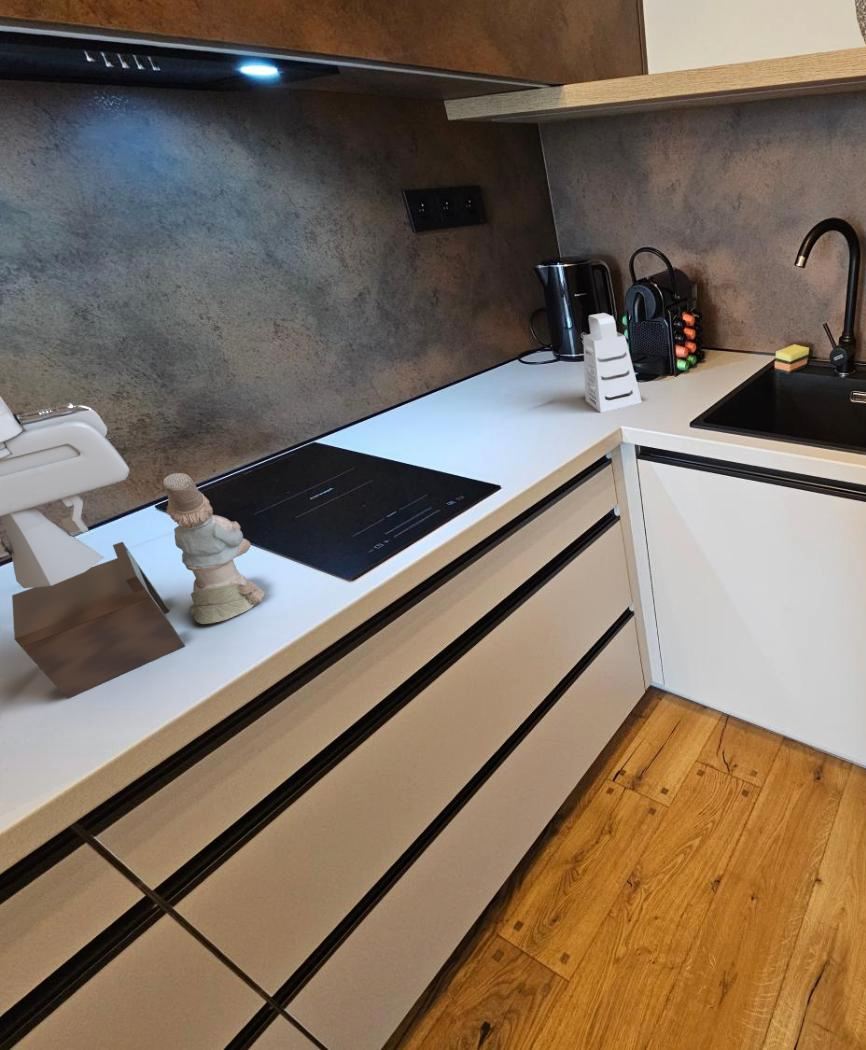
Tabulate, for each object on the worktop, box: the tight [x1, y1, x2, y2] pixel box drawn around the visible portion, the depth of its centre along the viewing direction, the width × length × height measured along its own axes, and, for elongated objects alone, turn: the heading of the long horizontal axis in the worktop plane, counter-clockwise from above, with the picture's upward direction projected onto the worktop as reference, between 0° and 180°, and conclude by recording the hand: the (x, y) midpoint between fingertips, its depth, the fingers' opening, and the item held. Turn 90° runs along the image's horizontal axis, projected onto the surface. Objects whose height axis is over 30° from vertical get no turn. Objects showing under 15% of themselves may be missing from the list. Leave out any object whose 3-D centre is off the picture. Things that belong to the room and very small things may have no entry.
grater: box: [582, 312, 643, 414], centre depth 136 cm, size 10×10×20 cm
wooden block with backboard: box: [11, 541, 186, 700], centre depth 70 cm, size 11×12×11 cm
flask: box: [0, 507, 105, 589], centre depth 64 cm, size 7×7×10 cm
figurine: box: [162, 472, 266, 625], centre depth 74 cm, size 9×8×20 cm
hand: (41, 545), depth 65 cm, fingers closed on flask, 5 cm apart
